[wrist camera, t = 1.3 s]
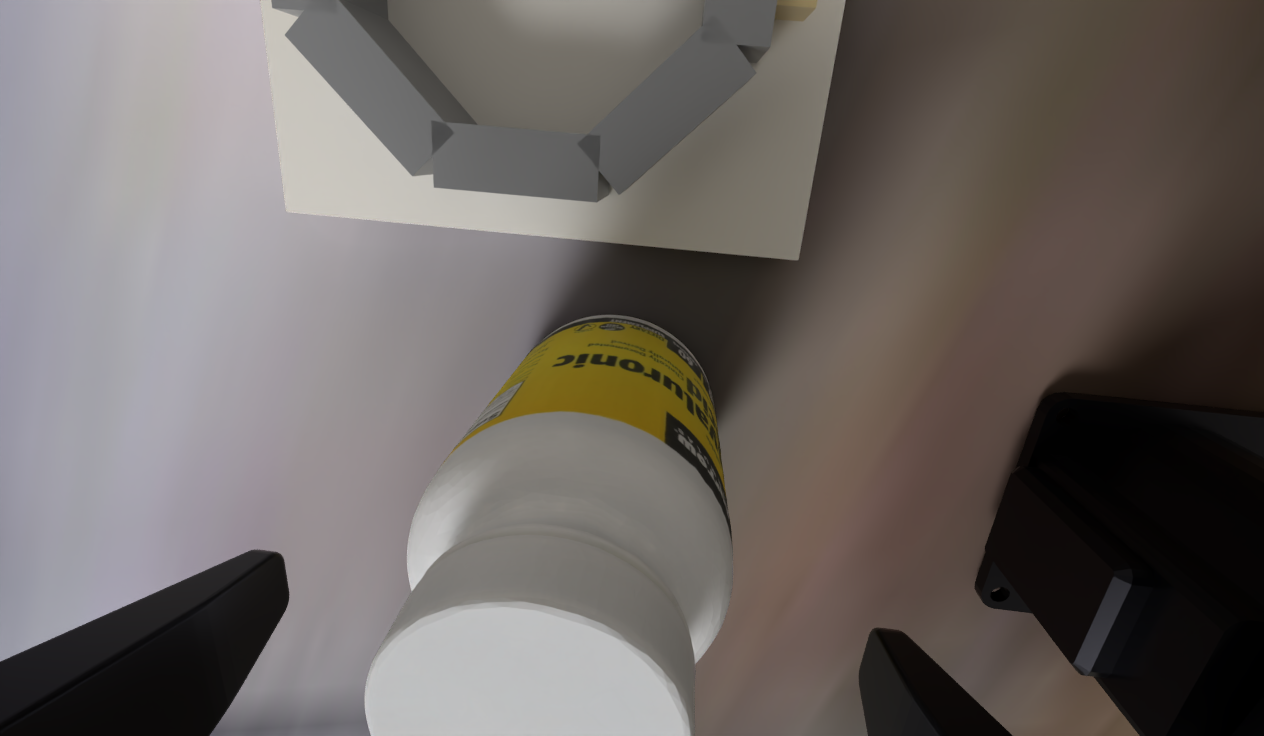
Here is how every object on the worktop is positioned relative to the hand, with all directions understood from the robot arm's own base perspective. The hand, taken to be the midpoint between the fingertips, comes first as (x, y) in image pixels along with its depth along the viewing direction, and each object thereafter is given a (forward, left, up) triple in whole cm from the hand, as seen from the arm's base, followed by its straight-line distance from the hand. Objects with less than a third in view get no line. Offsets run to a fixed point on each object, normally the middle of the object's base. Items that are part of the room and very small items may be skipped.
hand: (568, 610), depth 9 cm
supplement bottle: (0, 0, -8) cm, 8 cm away
